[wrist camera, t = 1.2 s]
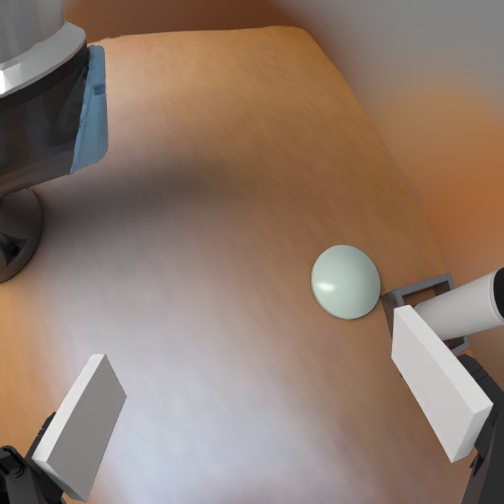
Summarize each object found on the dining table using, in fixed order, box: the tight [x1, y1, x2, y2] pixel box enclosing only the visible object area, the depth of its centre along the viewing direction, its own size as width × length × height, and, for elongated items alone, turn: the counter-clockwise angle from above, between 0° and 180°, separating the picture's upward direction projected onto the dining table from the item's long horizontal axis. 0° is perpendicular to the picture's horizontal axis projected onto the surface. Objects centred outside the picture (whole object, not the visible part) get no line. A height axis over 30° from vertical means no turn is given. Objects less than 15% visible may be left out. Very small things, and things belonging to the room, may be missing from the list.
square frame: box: [380, 273, 470, 377], centre depth 40 cm, size 12×12×4 cm
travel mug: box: [412, 268, 504, 341], centre depth 32 cm, size 6×7×20 cm
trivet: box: [310, 245, 380, 320], centre depth 41 cm, size 10×10×1 cm
